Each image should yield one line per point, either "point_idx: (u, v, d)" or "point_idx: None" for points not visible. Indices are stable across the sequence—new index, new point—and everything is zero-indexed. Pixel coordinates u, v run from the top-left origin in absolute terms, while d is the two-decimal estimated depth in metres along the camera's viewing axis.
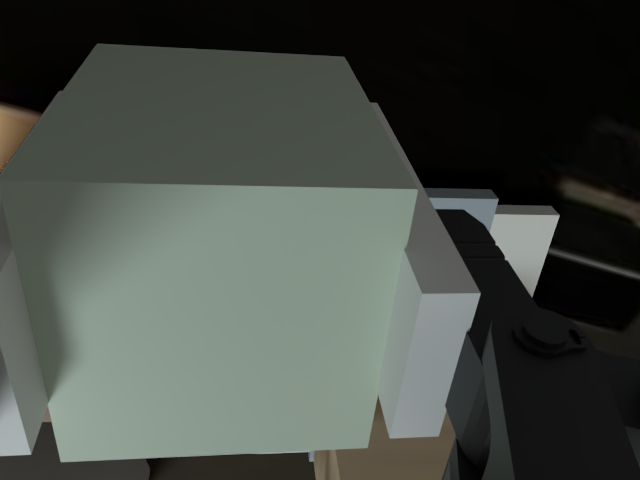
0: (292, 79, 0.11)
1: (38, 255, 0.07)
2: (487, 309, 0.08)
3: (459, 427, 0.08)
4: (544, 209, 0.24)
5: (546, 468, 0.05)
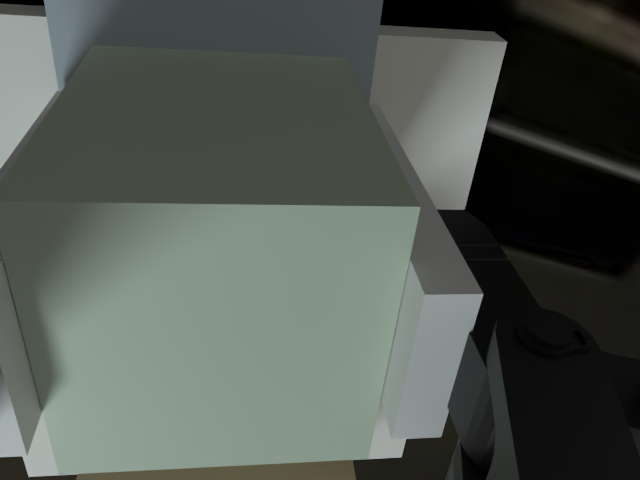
0: (292, 84, 0.11)
1: (32, 274, 0.07)
2: (489, 310, 0.08)
3: (461, 429, 0.08)
4: (480, 34, 0.13)
5: (551, 469, 0.05)
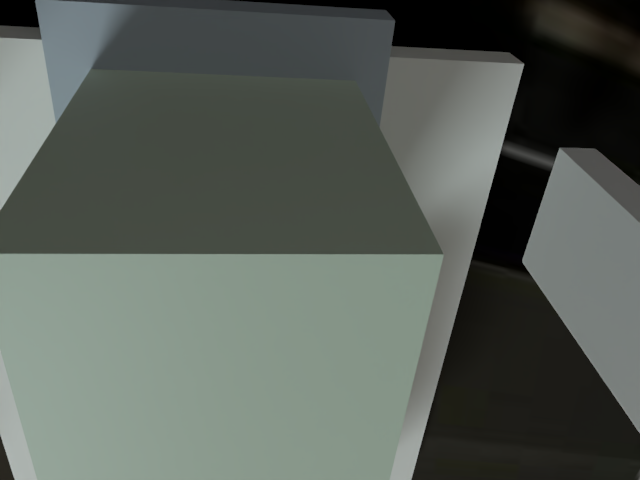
0: (301, 111, 0.10)
1: (21, 329, 0.07)
2: None
3: None
4: (495, 55, 0.12)
5: None
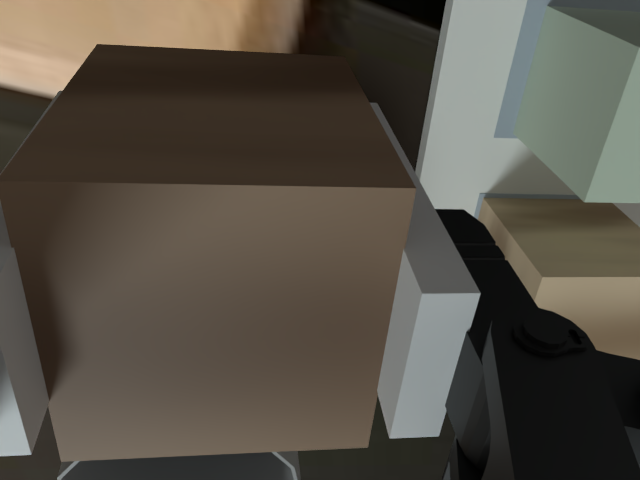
0: None
1: (635, 83, 0.17)
2: (487, 309, 0.08)
3: (459, 427, 0.08)
4: None
5: (546, 468, 0.05)
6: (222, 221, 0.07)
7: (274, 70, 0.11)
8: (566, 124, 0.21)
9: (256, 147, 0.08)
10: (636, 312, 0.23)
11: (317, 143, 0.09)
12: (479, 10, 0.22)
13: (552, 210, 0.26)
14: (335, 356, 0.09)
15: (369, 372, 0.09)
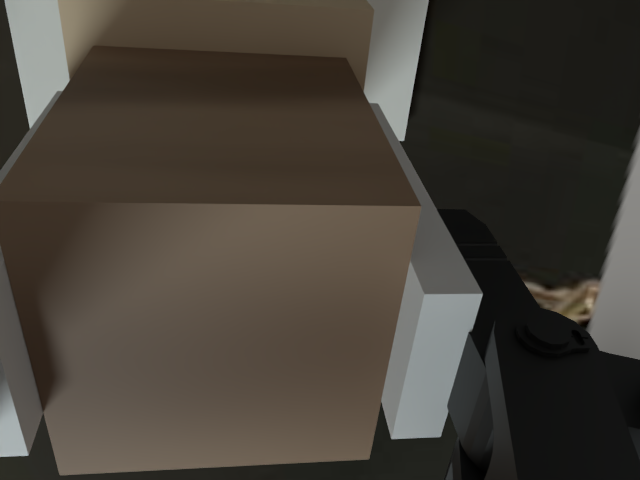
0: None
1: None
2: (489, 309, 0.08)
3: (461, 428, 0.08)
4: None
5: (549, 468, 0.05)
6: (223, 240, 0.07)
7: (275, 74, 0.11)
8: None
9: (256, 161, 0.08)
10: None
11: (319, 156, 0.08)
12: None
13: None
14: (336, 372, 0.09)
15: (371, 387, 0.09)
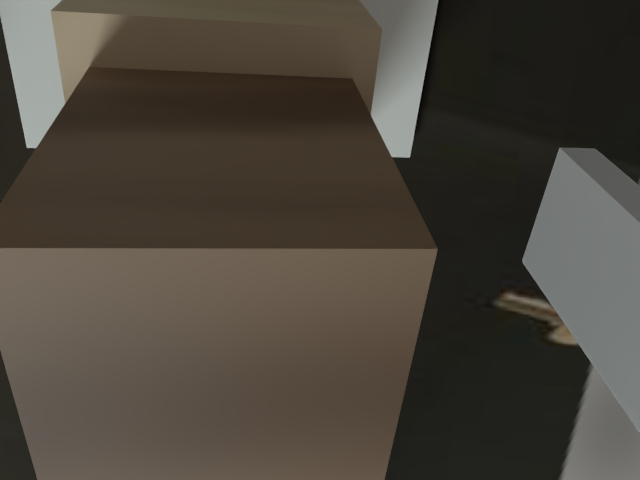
0: None
1: None
2: None
3: None
4: None
5: None
6: (225, 286, 0.07)
7: (278, 97, 0.11)
8: None
9: (261, 197, 0.07)
10: None
11: (326, 191, 0.08)
12: None
13: None
14: (345, 417, 0.08)
15: (381, 433, 0.09)
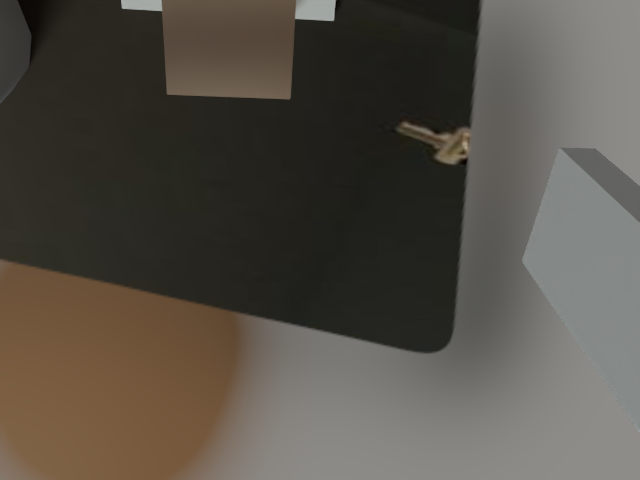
0: None
1: None
2: None
3: None
4: None
5: None
6: None
7: None
8: None
9: None
10: None
11: None
12: None
13: None
14: (273, 46, 0.23)
15: (287, 55, 0.24)
